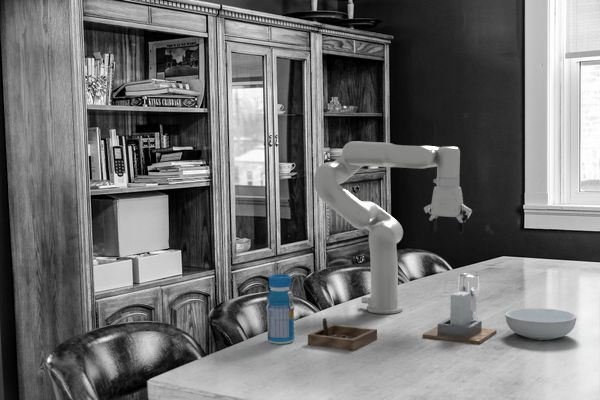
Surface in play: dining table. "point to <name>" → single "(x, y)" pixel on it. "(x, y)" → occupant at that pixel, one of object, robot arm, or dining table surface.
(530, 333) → the serving bowl
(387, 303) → the robot arm
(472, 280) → the beer glass
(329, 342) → the square wooden tray
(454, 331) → the board with square socket
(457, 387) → the dining table surface
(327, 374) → the dining table surface
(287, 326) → the beverage bottle
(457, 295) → the skincare box
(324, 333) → the compass
